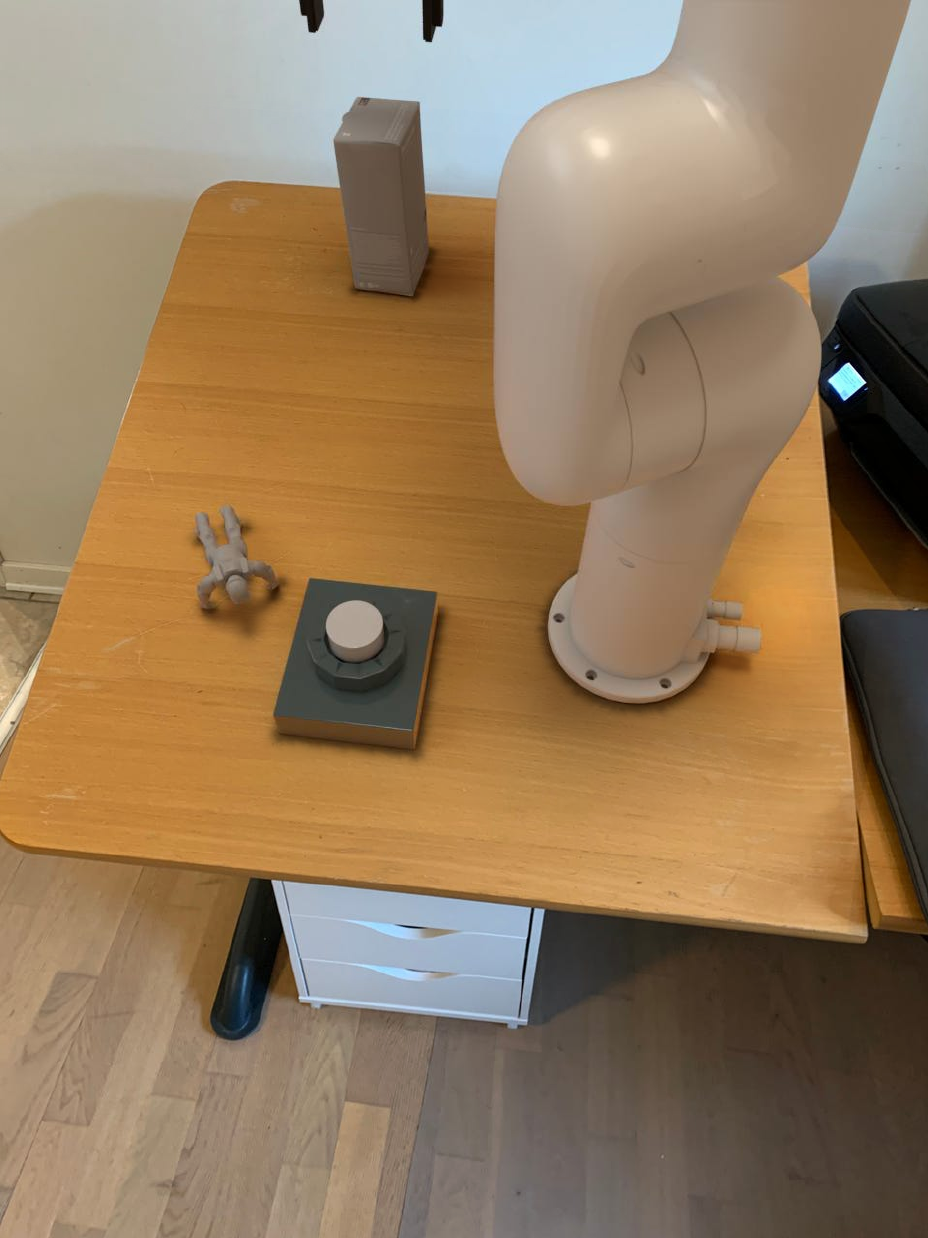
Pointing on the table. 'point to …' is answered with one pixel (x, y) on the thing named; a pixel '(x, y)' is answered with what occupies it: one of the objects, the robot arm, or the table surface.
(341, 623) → the white short cylinder
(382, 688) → the button base
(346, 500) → the table surface
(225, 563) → the soldier figurine
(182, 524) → the table surface
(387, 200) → the cosmetic box
